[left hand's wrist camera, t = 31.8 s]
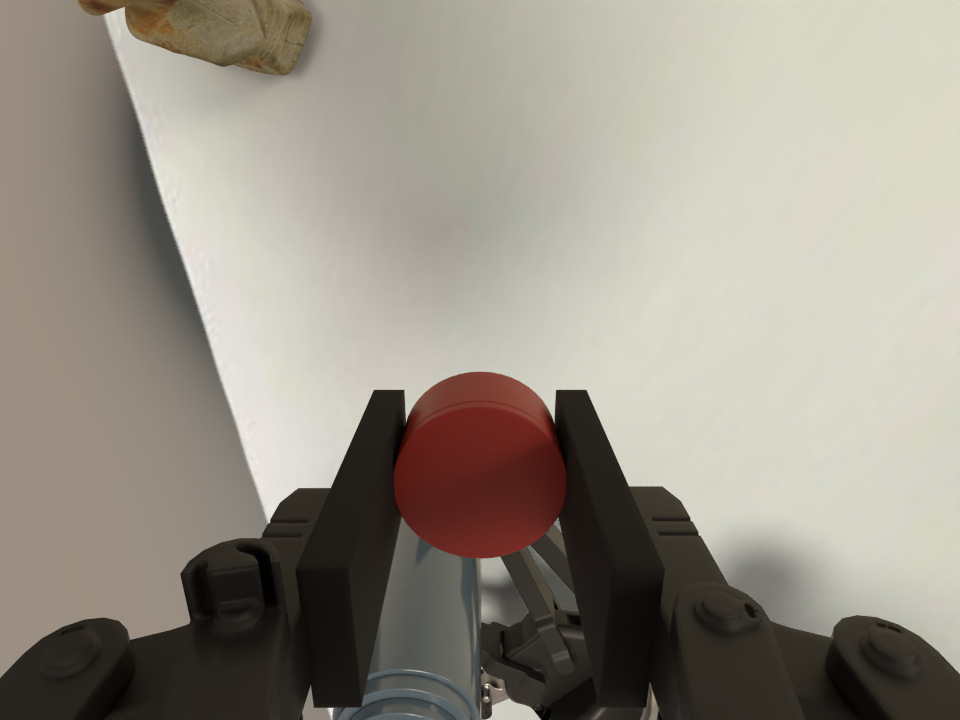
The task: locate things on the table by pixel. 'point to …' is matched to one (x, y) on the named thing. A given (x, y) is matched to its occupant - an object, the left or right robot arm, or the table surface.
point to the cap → (480, 466)
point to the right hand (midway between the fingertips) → (370, 507)
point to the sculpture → (219, 29)
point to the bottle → (425, 638)
